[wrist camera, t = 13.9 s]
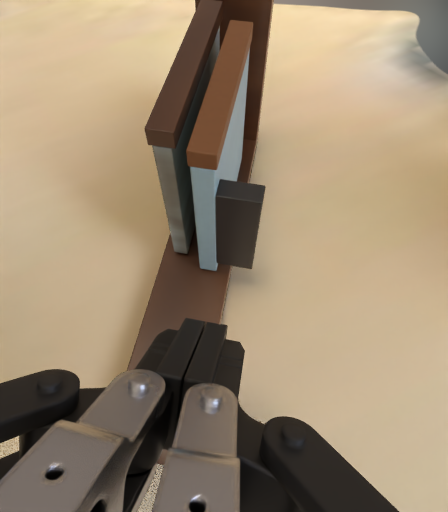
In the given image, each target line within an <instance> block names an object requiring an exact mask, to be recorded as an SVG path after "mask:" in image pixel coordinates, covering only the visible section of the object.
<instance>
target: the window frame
mask: <svg viewBox="0 0 448 512" xmlns="http://www.w3.org/2000/svg"><path fill="white" fill-rule="evenodd" d="M273 2H274V0H195V6H196V12H195V14H194V16H193V19H192V21H191V23H190V26H189V28H188V30H187V32H186V35H185V37H184V39H183V42H182V44H181V46H180V49H179V51H178V53H177V55H176V58H175V60H174V62H173V65H172V67H171V69H170V71H169V74H168V76H167V78H166V81H165V83H164V85H163V87H162V90H161V92H160V94H159V97H158V99H157V101H156V104H155V106H154V108H153V110H152V113H151V115H150V117H149V120H148V122H147V124H146V126H145V133H146V138H147V142H148V145H153V146H152V147H153V152H154V157H155V161H156V166H157V171H158V176H159V180H160V185H161V190H162V195H163V199H164V204H165V209H166V214H167V218H168V223H169V228H170V236H169V239H168V242H167V245H166V249H165V252H164V255H163V258H162V261H161V264H160V268H159V271H158V274H157V277H156V280H155V283H154V286H153V290H152V293H151V296H150V299H149V302H148V305H147V309H146V312H145V315H144V318H143V321H142V324H141V328H140V331H139V334H138V337H137V340H136V343H135V346H134V350H133V353H132V356H131V359H130V362H129V365H128V369H127V371H129V370H134V369H135V368H136V366H137V365H138V363H139V362H140V360H141V359H142V357H143V356H144V354H145V353H146V351H147V350H148V348H149V347H150V345H151V344H152V342H153V341H154V339H155V338H156V336H157V335H158V334H159V333H161V332H163V331H165V330H166V329H173V330H179V328H180V327H181V325H182V323H183V321H184V320H185V318H190V319H195V320H200V321H206V323H207V322H211V323H217V324H221V319H222V314H223V309H224V305H225V300H226V295H227V290H228V285H229V280H230V275H231V270H232V266H231V265H225V264H219V263H218V266H217V270H216V271H213V270H207V269H201V268H200V263H199V253H198V243H197V233H196V222H195V212H194V202H193V192H192V182H191V172H190V166H188V163H187V154H186V150H187V147H188V144H189V141H190V138H191V135H192V132H193V129H194V126H195V123H196V120H197V117H198V114H199V111H200V108H201V105H202V102H203V99H204V96H205V93H206V90H207V87H208V84H209V81H210V78H211V75H212V72H213V69H214V67H215V64H216V61H217V58H218V55H219V52H220V49H221V46H222V43H223V40H224V37H225V34H226V31H227V28H228V25H229V22H230V20H237V21H246V22H253V33H252V41H251V45H250V51H249V65H248V79H247V93H246V106H245V120H244V134H243V148H242V160H241V164H240V169H239V173H238V178H237V182H244V183H249V181H250V176H251V171H252V166H253V161H254V156H255V151H256V146H257V139H258V131H259V122H260V113H261V105H262V96H263V88H264V79H265V71H266V62H267V53H268V45H269V36H270V28H271V19H272V11H273ZM167 452H168V450H165V449H163V450H162V452H161V455H160V458H159V460H158V462H157V464H162V465H164V463H165V460H166V456H167Z"/></svg>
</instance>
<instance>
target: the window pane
mask: <svg viewBox="0 0 448 512" xmlns="http://www.w3.org/2000/svg"><path fill="white" fill-rule="evenodd" d="M252 33H253V22H246V21H237V20H230V22H229V25H228V28H227V31H226V34H225V37H224V40H223V43H222V46H221V49H220V52H219V55H218V58H217V61H216V64H215V67H214V69H213V72H212V75H211V78H210V81H209V84H208V87H207V90H206V93H205V96H204V99H203V102H202V105H201V108H200V111H199V114H198V117H197V120H196V123H195V126H194V129H193V132H192V135H191V138H190V141H189V144H188V147H187V150H186V154H187V163H188V166H190V172H191V182H192V192H193V202H194V212H195V222H196V233H197V243H198V253H199V263H200V268H201V269H207V270H213V271H216V270H217V266H218V263H219V264H225V265H231V266H237V267H243V268H248V269H252V265H253V259H254V253H255V247H256V241H257V235H258V228H259V222H260V216H261V210H262V204H263V198H264V192H265V186H263V185H257V184H250V183H244V182H237V178H238V173H239V169H240V164H241V160H242V148H243V134H244V120H245V106H246V93H247V79H248V65H249V51H250V45H251V41H252Z"/></svg>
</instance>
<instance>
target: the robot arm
mask: <svg viewBox="0 0 448 512" xmlns="http://www.w3.org/2000/svg"><path fill="white" fill-rule="evenodd" d="M226 334H227V325H222V324H217V323H211V322H207V323H206V321H200V320H195V319H190V318H185V320H184V321H183V323H182V325H181V327H180V328H179V330H173V329H166V330H165V331H163V332H161V333H159V334H158V335H157V336H156V338H155V339H154V341H153V342H152V344H151V345H150V347H149V348H148V350H147V351H146V353H145V354H144V356H143V357H142V359H141V360H140V362H139V363H138V365H137V366H136V368H135V369H134V370H129V371H126V372H123V373H121V374H119V375H118V376H117V377H116V378H115V379H114V380H113V381H112V382H111V383H110V384H109V385H108V387H106V388H84V389H79V388H80V381H79V378H78V377H77V376H76V375H75V374H74V373H72V372H70V371H66V370H60V369H52V370H45V371H41V372H37V373H34V374H30V375H27V376H24V377H20V378H17V379H14V380H10V381H7V382H4V383H0V443H2V442H4V441H7V440H9V439H12V438H14V437H17V436H19V451H18V452H15V453H13V454H11V455H8V456H6V457H4V458H1V459H0V512H137V511H138V509H139V507H140V505H141V503H142V501H143V499H144V497H145V494H146V492H147V490H148V488H149V486H150V484H151V482H152V480H153V478H154V475H155V473H156V466H157V462H158V460H159V458H160V455H161V452H162V450H163V449H165V450H168V452H167V456H166V460H165V463H164V467H163V471H162V475H161V479H160V483H159V487H158V490H157V494H156V498H155V502H154V506H153V510H152V512H399V511H398V510H397V509H396V508H395V507H394V506H393V505H392V504H391V503H390V502H389V501H388V500H387V499H386V498H384V497H383V496H382V495H381V494H380V493H379V492H378V491H377V490H376V489H375V488H374V487H373V486H372V485H371V484H370V483H369V482H368V481H367V480H366V479H365V478H364V477H363V476H362V475H361V474H360V473H359V472H358V471H357V470H356V469H355V468H353V467H352V466H351V465H350V464H349V463H348V462H347V461H346V460H345V459H344V458H343V457H342V456H341V455H340V454H339V453H338V452H337V451H336V450H335V449H334V448H333V447H332V446H331V445H330V444H329V443H328V442H327V441H326V440H325V439H324V438H322V437H321V436H320V435H319V434H318V433H317V432H316V431H315V430H314V429H313V428H312V427H311V426H309V425H308V424H306V423H305V422H303V421H301V420H298V419H295V418H292V417H283V416H282V417H275V418H273V419H270V420H269V421H268V422H267V423H266V424H265V425H264V424H262V423H260V422H258V421H256V420H254V419H253V418H251V417H250V416H248V415H247V414H246V413H245V412H244V411H243V410H242V408H241V407H240V405H239V402H238V394H239V387H240V380H241V373H242V366H243V359H244V352H245V350H244V349H243V347H242V345H241V343H240V342H237V341H232V340H226Z"/></svg>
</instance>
